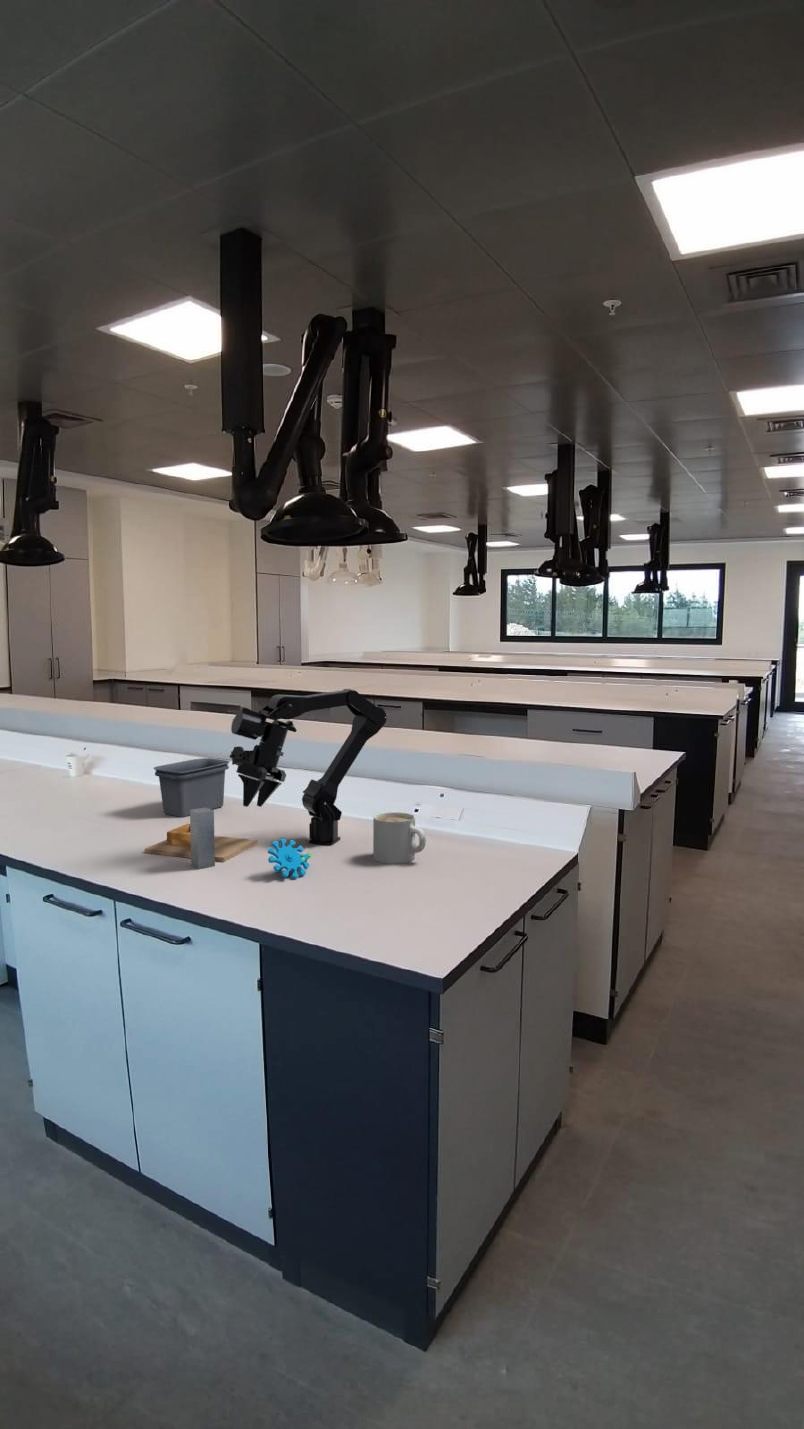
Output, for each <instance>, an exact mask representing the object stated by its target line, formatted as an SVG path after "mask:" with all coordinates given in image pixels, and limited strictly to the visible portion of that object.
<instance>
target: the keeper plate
mask: <svg viewBox="0 0 804 1429" xmlns="http://www.w3.org/2000/svg"><path fill="white" fill-rule="evenodd" d="M214 844H215V862H219V863H221V862H222V863H224V862H227V861H229V860H230V859H232V858H234V857H236V856H238V855H239V854H242V853H243V852H245V851H247V850H249V849H251V848H253V847H254V846H257V845H258V840H257V839H248V838H238V837H229V836H219V835H214ZM144 853H145V854H153V855H159V856H160V855H161V856H169V857H179V858H187V859H191V832H190V823H186V824H183V825H181V826H178V827H176V828H174V829H171V830H168V831H167V832H166V839H164V840H163V841H159V842H157V843H156V844H155V843H154V844H153V845H150V846H148V847H146V848H144Z"/></svg>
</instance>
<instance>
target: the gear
mask: <svg viewBox="0 0 804 1429" xmlns="http://www.w3.org/2000/svg"><path fill="white" fill-rule="evenodd" d="M286 842H287V839H286V838H283V837H282V838H280V839H279V841H278V840H274V841H272V843H271V846H270V847H269V849H268V850H267V853H268V854H269V857H268V859H267V860H268V863H269V864H273V863H274V865H273V867H272V868H273V871H274V872H275V873H276V872H277V873H280V872H282V871H283V870H284V871H283V872H282V873H281V876H282V877H284V878H285V879H286V878H287V877H288V876H289V874H290V873H289V872H290V871H292V872H293V873H292V874H291V875H290V876H291V878H292V879H294V880H297V879H298V878H299V876H300V877H303V876H305V875H306V874H307V871H306V870H307V869H308V868H309V867H310V865H311V864H310V863H309V862H307V861H308V860H309V859H311V857H312V856H313V854H312V852H308V853H305V854H303V853H302V852H303V851H304V850H305V849H304V848H303V846H302V845H299V846H298V847H296V848H293V847H294V846H295V845H296V841H295V840H293V839H291V840H290V841H289V842H288V845H287V846H286V845H285V844H286ZM279 844H280V847H279ZM275 863H276V864H275ZM298 872H299V873H298Z"/></svg>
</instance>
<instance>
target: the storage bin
mask: <svg viewBox="0 0 804 1429" xmlns="http://www.w3.org/2000/svg"><path fill="white" fill-rule="evenodd" d="M229 763H230V760H227V759H219V758H212V757H208V758H207V757H205V758H204V757H203V758H196V759H188V760H185V761H184V760H183V761H177V762H174V763H173V762H172V763H167V764H164V765H156V766H154V767H153V768H152V769H153V770H155V772H154V776H155V777H158V780H159V781H158V782H159V787H160V794H161V802H162V809H163V813H164V814H165V815H169V816H173V817H178V818H185V817H190V810H193V809H200V808H209V809H211V810H215V809H218V808H221V807H223V806H224V799H225V798H224V797H225V795H224V794H225V780H226V779H225V777H226V770H229V768H230V766H229Z"/></svg>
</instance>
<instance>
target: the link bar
mask: <svg viewBox="0 0 804 1429" xmlns="http://www.w3.org/2000/svg"><path fill="white" fill-rule="evenodd" d="M189 821H190V822H189V824H190V832H191V858H190V865H191V866H193V867H194V868H195V869H197V870H203V869H206V868H213V867H215V866H216V861H215V844H214V836H215V810H214V809H212V810H211V809H209V808H200V809H193V810H190V815H189Z"/></svg>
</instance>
